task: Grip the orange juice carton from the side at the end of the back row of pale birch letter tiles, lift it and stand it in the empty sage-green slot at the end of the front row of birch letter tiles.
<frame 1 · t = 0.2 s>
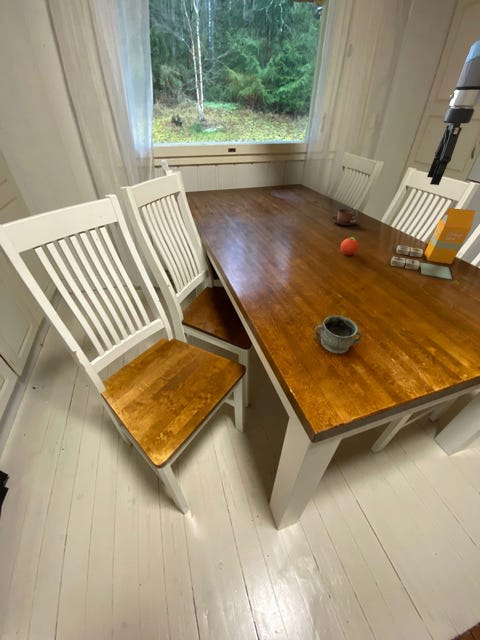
hand: (432, 180, 100), 28 cm above the table, tool pointing down, fingers open, 13 cm apart
vessel: (334, 343, 74), on the table
cup and saucer: (343, 223, 146), on the table
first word: (408, 253, 118), on the table
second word: (420, 268, 107), on the table
tomato: (347, 254, 117), on the table
orange juice: (437, 258, 114), on the table
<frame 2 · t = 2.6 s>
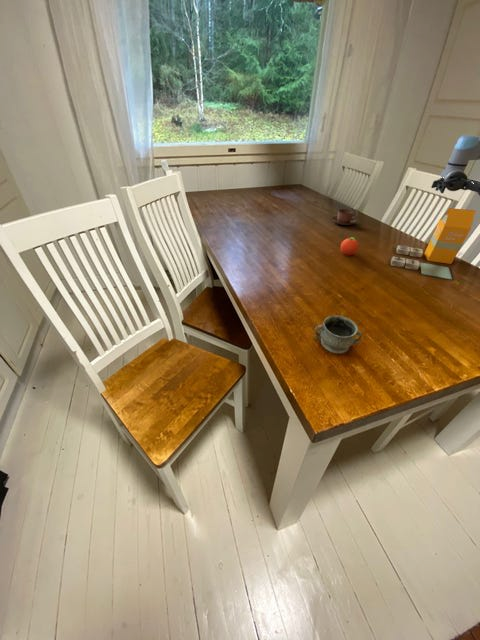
hand: (463, 191, 106), 24 cm above the table, tool horizontal, fingers open, 13 cm apart
nothing on the table moved.
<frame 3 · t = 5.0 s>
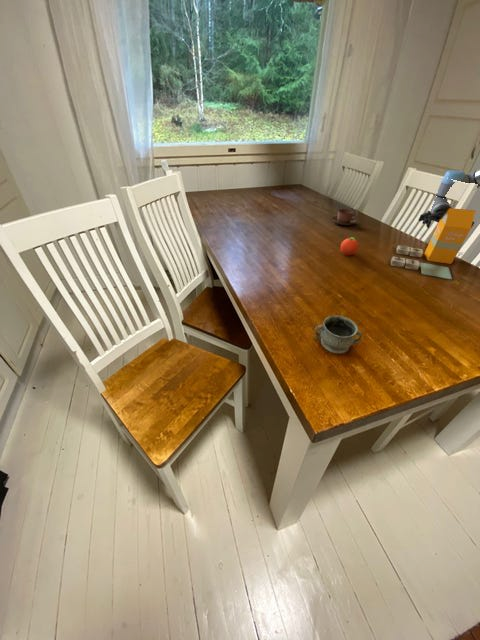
hand: (447, 227, 112), 11 cm above the table, tool horizontal, fingers open, 13 cm apart
nothing on the table moved.
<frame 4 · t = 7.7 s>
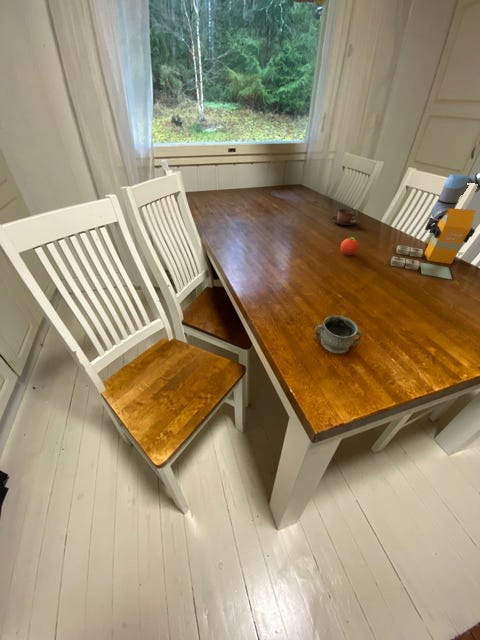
hand: (452, 236, 104), 11 cm above the table, tool horizontal, fingers closed on orange juice, 9 cm apart
orange juice: (437, 258, 114), on the table, touching gripper
everything else where it was.
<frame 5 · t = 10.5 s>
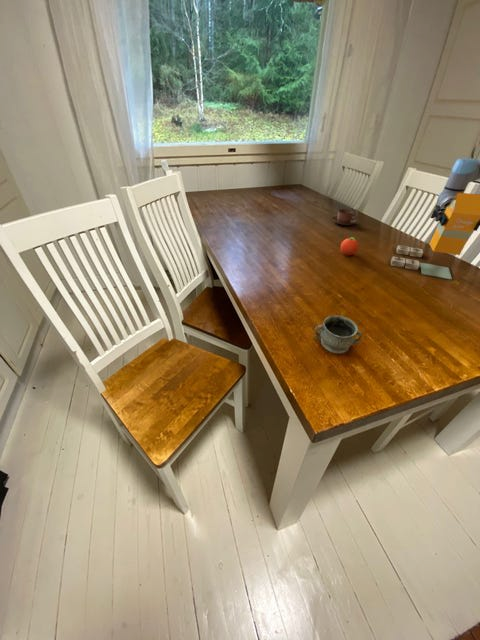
hand: (460, 224, 95), 18 cm above the table, tool horizontal, fingers closed on orange juice, 9 cm apart
orange juice: (443, 249, 105), point 7 cm above the table, touching gripper
everything else where it was.
when the fingers open (11 cm above the table, at t = 13.7 s): orange juice stays where it is, resting on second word.
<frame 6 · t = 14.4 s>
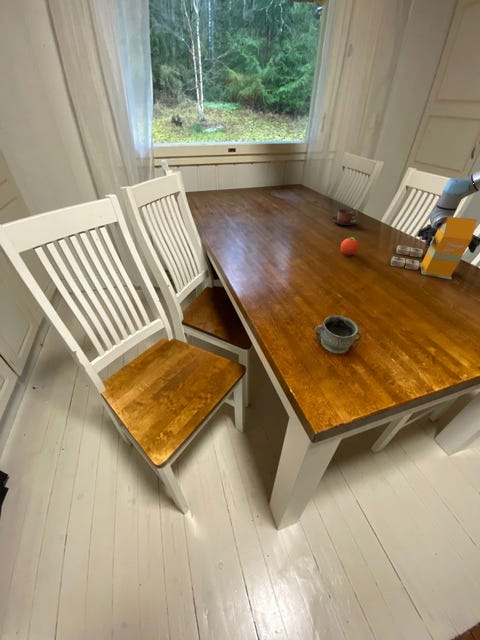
hand: (451, 245, 96), 12 cm above the table, tool horizontal, fingers open, 13 cm apart
orange juice: (434, 270, 106), resting on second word
everything else where it was.
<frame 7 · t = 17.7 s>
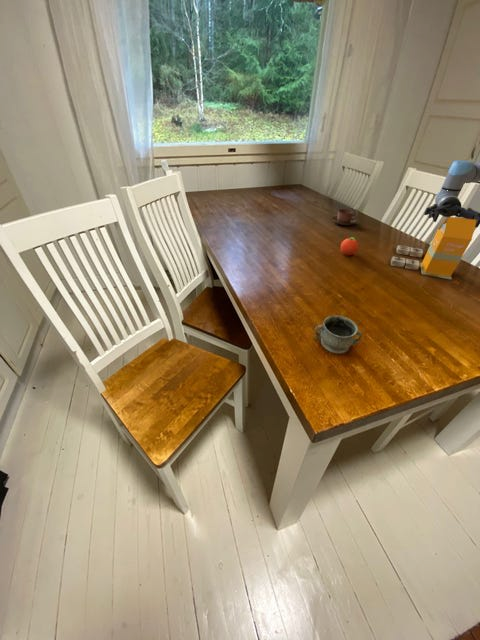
hand: (457, 221, 103), 16 cm above the table, tool horizontal, fingers open, 13 cm apart
nothing on the table moved.
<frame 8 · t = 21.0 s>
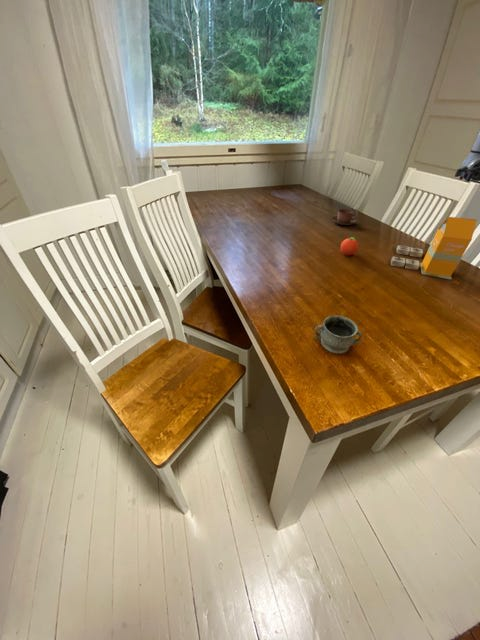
nothing on the table moved.
at the end: orange juice inside the target area (0.1 cm from its centre), resting on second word; orange juice tilted 0°; the gripper is holding nothing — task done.
